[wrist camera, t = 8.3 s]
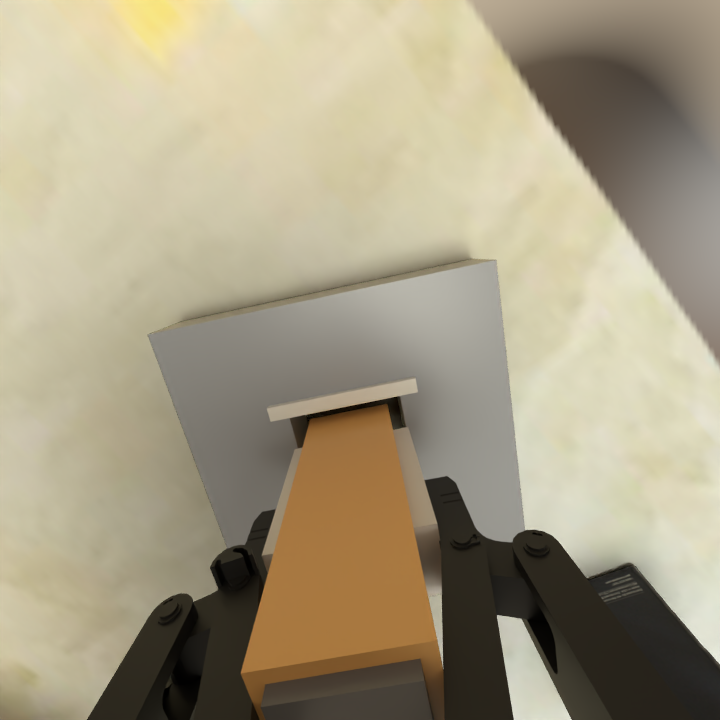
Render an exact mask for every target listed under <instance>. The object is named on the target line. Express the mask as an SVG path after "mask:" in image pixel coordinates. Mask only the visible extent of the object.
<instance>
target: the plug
mask: <svg viewBox="0 0 720 720" xmlns="http://www.w3.org/2000/svg"><path fill="white" fill-rule="evenodd" d="M241 676H242V678H243V680H244V683H245V685H246V688H247V690H248V693H249V695H250V698H251V700H252V702H253V705H254V707H255V710H256V712H257V715H258V717H259V719H260V720H445V719H444V671H443V666H442V661H441V657H440V652H439V647H438V642H437V637H436V632H435V627H434V623H433V618H432V613H431V609H430V604H429V599H428V594H427V590H426V585H425V580H424V575H423V571H422V566H421V561H420V556H419V552H418V547H417V542H416V537H415V533H414V528H413V523H412V518H411V514H410V509H409V504H408V499H407V495H406V490H405V485H404V480H403V476H402V471H401V466H400V461H399V457H398V452H397V447H396V442H395V438H394V433H393V428H392V423H391V419H390V414H389V409H388V404H383V405H378V406H373V407H368V408H363V409H358V410H353V411H348V412H343V413H338V414H333V415H328V416H323V417H318V418H313V419H310V422H309V426H308V429H307V433H306V437H305V440H304V444H303V447H302V451H301V455H300V458H299V462H298V466H297V469H296V473H295V477H294V480H293V484H292V488H291V491H290V495H289V499H288V502H287V506H286V510H285V513H284V517H283V521H282V524H281V528H280V531H279V535H278V539H277V542H276V546H275V550H274V553H273V557H272V561H271V564H270V568H269V572H268V575H267V579H266V583H265V586H264V590H263V594H262V597H261V601H260V605H259V608H258V612H257V616H256V619H255V623H254V626H253V630H252V634H251V637H250V641H249V645H248V648H247V652H246V656H245V659H244V663H243V667H242V670H241Z"/></svg>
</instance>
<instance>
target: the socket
mask: <svg viewBox="0 0 720 720" xmlns="http://www.w3.org/2000/svg"><path fill="white" fill-rule="evenodd" d="M148 337H149V340H150V342H151V345H152V348H153V350H154V353H155V356H156V358H157V361H158V364H159V367H160V369H161V372H162V375H163V377H164V380H165V383H166V385H167V388H168V391H169V393H170V396H171V399H172V401H173V404H174V407H175V409H176V412H177V415H178V417H179V420H180V423H181V425H182V428H183V431H184V433H185V436H186V439H187V441H188V444H189V447H190V449H191V452H192V455H193V458H194V460H195V463H196V466H197V468H198V471H199V474H200V476H201V479H202V482H203V484H204V487H205V490H206V492H207V495H208V498H209V500H210V503H211V506H212V508H213V511H214V514H215V516H216V519H217V522H218V524H219V527H220V530H221V532H222V535H223V538H224V541H225V543H226V546H227V549H228V548H231V547H233V546H237V545H245V543H246V542H247V538H248V535H249V533H250V530H251V527H252V525H253V522H254V521H255V519H256V518H257V517H258V516H259V515H260V514H261V512H263V511H268V510H274V509H276V508H277V504H278V501H279V498H280V495H281V492H282V488H283V485H284V482H285V479H286V475H287V472H288V469H289V466H290V463H291V459H292V456H293V453H294V450H295V449H297V448H302V447H303V444H304V440H305V437H306V433H307V429H308V426H309V425H308V422H307V418H306V415H307V414H312V413H317V412H322V411H327V410H332V409H337V408H342V407H347V406H352V405H357V404H362V403H367V402H372V401H377V400H382V399H387V398H392V397H398V402H399V407H400V412H401V418H402V423H403V428H405V427H408V428H409V431H410V435H411V438H412V441H413V445H414V448H415V451H416V454H417V458H418V461H419V464H420V468H421V471H422V474H423V478H424V480H428V479H433V478H439V477H444V476H448V477H449V478H451V479H452V480H453V481H454V482H456V484H457V487H458V489H459V491H460V493H461V496H462V498H463V500H464V503H465V505H466V507H467V509H468V512H469V514H470V516H471V519H472V521H473V523H474V526H475V527H476V529H477V530H478V531H479V532H480V533H481V534H482V535H483V536H485V537H487V538H489V539H492V540H495V541H501V542H513V538H514V537H515V536H516V535H517V534H518V533H520V532H523V531H525V526H524V516H523V507H522V498H521V488H520V479H519V469H518V460H517V451H516V441H515V432H514V422H513V413H512V403H511V394H510V385H509V375H508V366H507V356H506V347H505V338H504V328H503V319H502V309H501V300H500V291H499V281H498V272H497V262H496V260H486V259H470V260H465V261H460V262H456V263H451V264H446V265H442V266H437V267H432V268H428V269H423V270H418V271H414V272H409V273H404V274H400V275H395V276H390V277H386V278H381V279H376V280H372V281H367V282H363V283H358V284H353V285H349V286H344V287H339V288H335V289H330V290H325V291H321V292H316V293H311V294H307V295H302V296H297V297H293V298H288V299H283V300H279V301H274V302H270V303H265V304H260V305H256V306H251V307H246V308H242V309H237V310H232V311H228V312H223V313H218V314H214V315H209V316H204V317H200V318H195V319H190V320H186V321H181V322H179V323H176V324H174V325H171V326H168V327H166V328H163V329H161V330H158V331H156V332H153V333H150V334H148Z"/></svg>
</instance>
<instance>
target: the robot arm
mask: <svg viewBox="0 0 720 720" xmlns="http://www.w3.org/2000/svg"><path fill="white" fill-rule="evenodd" d="M393 433H394V438H395V442H396V447H397V452H398V457H399V461H400V466H401V471H402V476H403V480H404V485H405V490H406V495H407V499H408V504H409V509H410V514H411V518H412V523H413V528H414V533H415V537H416V542H417V547H418V552H419V556H420V561H421V566H422V571H423V575H424V580H425V585H426V590H427V594H428V597H429V596H434V595H440V594H442V623H443V671H444V719H445V720H514V719H513V713H512V707H511V701H510V694H509V688H508V682H507V676H506V670H505V664H504V658H503V652H502V646H501V639H500V633H499V627H498V621H497V615H502V616H509V617H515V618H522V620H523V622H524V624H525V626H526V628H527V630H528V632H529V634H530V636H531V639H532V641H533V643H534V645H535V647H536V649H537V651H538V653H539V655H540V657H541V659H542V661H543V663H544V665H545V667H546V669H547V671H548V673H549V675H550V677H551V679H552V681H553V683H554V685H555V687H556V689H557V691H558V693H559V695H560V697H561V699H562V701H563V703H564V705H565V707H566V709H567V711H568V713H569V715H570V717H571V719H572V720H694V719H693V718H692V717H691V715H690V714H689V713H688V711H687V710H686V709H685V707H684V706H683V705H682V703H681V702H680V701H679V700H678V698H677V697H676V696H675V694H674V693H673V692H672V690H671V689H670V688H669V686H668V685H667V684H666V682H665V681H664V680H663V678H662V677H661V676H660V675H659V673H658V672H657V671H656V669H655V668H654V667H653V665H652V664H651V663H650V661H649V660H648V659H647V657H646V656H645V655H644V653H643V652H642V651H641V650H640V648H639V647H638V646H637V644H636V643H635V642H634V640H633V639H632V638H631V636H630V635H629V634H628V632H627V631H626V630H625V628H624V627H623V626H622V625H621V623H620V622H619V621H618V619H617V618H616V617H615V615H614V614H613V613H612V611H611V610H610V609H609V607H608V606H607V605H606V603H605V602H604V601H603V600H602V598H601V597H600V596H599V594H598V593H597V592H596V590H595V589H594V588H593V586H592V585H591V584H590V582H589V581H588V580H587V578H586V577H585V576H584V575H583V573H582V572H581V571H580V569H579V568H578V567H577V565H576V564H575V563H574V561H573V560H572V559H571V557H570V556H569V555H568V553H567V552H566V551H565V550H564V548H563V547H562V546H561V544H560V543H559V542H558V541H557V540H556V539H555V538H554V537H553V536H552V535H549V534H547V533H545V532H543V531H538V530H525V531H523V532H520V533H518V534H517V535H516V536H515V537H514V538H513V542H501V541H495V540H492V539H489V538H487V537H485V536H483V535H482V534H481V533H480V532H479V531H478V530H477V529H476V527H475V526H474V523H473V521H472V519H471V516H470V514H469V512H468V509H467V507H466V505H465V503H464V500H463V498H462V496H461V493H460V491H459V489H458V487H457V484H456V482H454V481H453V480H452V479H451V478H449V477H448V476H444V477H439V478H433V479H428V480H424V478H423V474H422V471H421V468H420V464H419V461H418V458H417V454H416V451H415V448H414V445H413V441H412V438H411V435H410V431H409V428H408V427H405V428H400V429H394V430H393ZM301 451H302V448H297V449H295V450H294V453H293V456H292V459H291V463H290V466H289V469H288V472H287V475H286V479H285V482H284V485H283V488H282V492H281V495H280V498H279V501H278V504H277V508H276V509H274V510H268V511H263V512H261V514H260V515H259V516H258V517H257V518H256V519H255V521H254V522H253V525H252V527H251V530H250V533H249V535H248V538H247V542H246V543H245V545H237V546H233V547H231V548H228V549H226V550H225V551H223V552H222V553H221V554H219V555H218V556H217V557H216V558H215V560H214V561H213V562H212V565H211V567H210V569H211V571H212V574H213V576H214V579H215V581H216V584H217V586H218V591H216V592H214V593H212V594H211V595H208V596H206V597H204V598H202V599H199V600H197V601H195V602H193V600H192V597H191V596H189V595H188V594H178V595H174V596H172V597H170V598H168V599H166V600H165V601H163V602H162V603H161V604H160V605H158V606H157V607H156V608H155V609H154V611H153V612H152V613H151V615H150V616H149V618H148V619H147V621H146V623H145V624H144V626H143V628H142V629H141V631H140V633H139V634H138V636H137V638H136V639H135V641H134V643H133V644H132V646H131V648H130V649H129V651H128V653H127V654H126V656H125V658H124V659H123V661H122V663H121V664H120V666H119V667H118V669H117V671H116V672H115V674H114V676H113V677H112V679H111V681H110V682H109V684H108V686H107V687H106V689H105V691H104V692H103V694H102V696H101V697H100V699H99V701H98V702H97V704H96V706H95V707H94V709H93V711H92V712H91V714H90V716H89V717H88V719H87V720H260V719H259V717H258V715H257V712H256V710H255V707H254V705H253V702H252V700H251V698H250V695H249V693H248V690H247V688H246V685H245V683H244V680H243V678H242V676H241V670H242V667H243V663H244V659H245V656H246V652H247V648H248V645H249V641H250V637H251V634H252V630H253V626H254V623H255V619H256V616H257V612H258V608H259V605H260V601H261V597H262V594H263V590H264V586H265V583H266V579H267V575H268V572H269V568H270V564H271V561H272V557H273V553H274V550H275V546H276V542H277V539H278V535H279V531H280V528H281V524H282V521H283V517H284V513H285V510H286V506H287V502H288V499H289V495H290V491H291V488H292V484H293V480H294V477H295V473H296V469H297V466H298V462H299V458H300V455H301Z"/></svg>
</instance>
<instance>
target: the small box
mask: <svg viewBox="0 0 720 720" xmlns="http://www.w3.org/2000/svg"><path fill="white" fill-rule="evenodd" d="M588 581H589V582H590V584H591V585H592V586H593V588H594V589H595V590H596V592H597V593H598V594H599V596H600V597H601V598H602V600H603V601H604V602H605V603H606V605H607V606H608V607H609V609H610V610H611V611H612V613H613V614H614V615H615V617H616V618H617V619H618V621H619V622H620V623H621V625H622V626H623V627H624V628H625V630H626V631H627V632H628V634H629V635H630V636H631V638H632V639H633V640H634V642H635V643H636V644H637V646H638V647H639V648H640V650H641V651H642V652H643V653H644V655H645V656H646V657H647V659H648V660H649V661H650V663H651V664H652V665H653V667H654V668H655V669H656V671H657V672H658V673H659V675H660V676H661V677H662V678H663V680H664V681H665V682H666V684H667V685H668V686H669V688H670V689H671V690H672V692H673V693H674V694H675V696H676V697H677V698H678V700H679V701H680V702H681V703H682V705H683V706H684V707H685V709H686V710H687V711H688V713H689V714H690V715H691V717H692V718H693V719H694V720H720V664H719V663H718V662H717V661H716V660H715V659H714V657H713V656H712V655H711V654H710V653H709V652H708V651H707V650H706V649H705V648H704V647H703V646H702V645H701V644H700V642H699V641H698V640H697V639H696V637H695V636H694V635H693V634H692V633H691V632H690V630H689V629H688V628H687V627H686V626H685V624H684V623H683V622H682V621H681V620H680V619H679V618H678V616H677V615H676V614H675V613H674V612H673V611H672V610H671V609H670V607H669V606H668V605H667V604H666V602H665V601H664V600H663V599H662V598H661V596H660V595H659V594H658V593H657V592H656V591H655V589H654V588H653V587H652V586H651V584H650V583H649V582H648V581H647V580H646V579H645V577H644V576H643V575H642V574H641V572H640V571H639V570H638V569H637V567H636V566H629V567H626V568H623V569H621V570H618V571H615V572H612V573H609V574H606V575H603V576H600V577H597V578H594V579H591V580H588Z"/></svg>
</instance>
